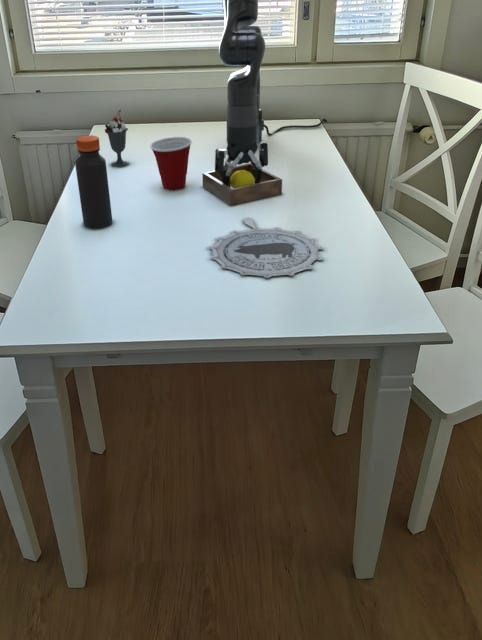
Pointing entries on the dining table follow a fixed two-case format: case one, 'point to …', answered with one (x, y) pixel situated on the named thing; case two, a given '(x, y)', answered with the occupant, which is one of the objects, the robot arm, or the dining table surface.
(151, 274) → the dining table surface
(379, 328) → the dining table surface
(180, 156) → the plastic cup
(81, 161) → the bottle
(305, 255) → the decorative wall hanging
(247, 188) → the wooden box
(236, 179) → the lemon
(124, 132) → the sundae
